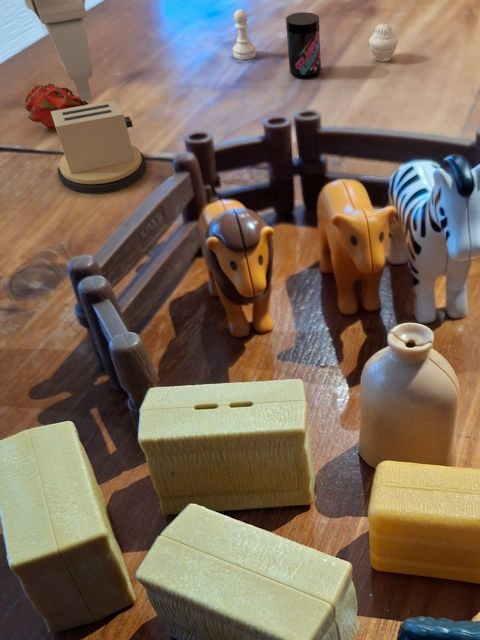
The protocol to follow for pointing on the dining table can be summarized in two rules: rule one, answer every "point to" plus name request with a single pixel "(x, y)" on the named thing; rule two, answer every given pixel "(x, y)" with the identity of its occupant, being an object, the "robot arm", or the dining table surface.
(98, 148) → the toaster
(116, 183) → the turntable base
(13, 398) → the dining table surface
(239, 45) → the chess pawn
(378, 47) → the muffin
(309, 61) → the supplement container
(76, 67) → the robot arm
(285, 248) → the dining table surface
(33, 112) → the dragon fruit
